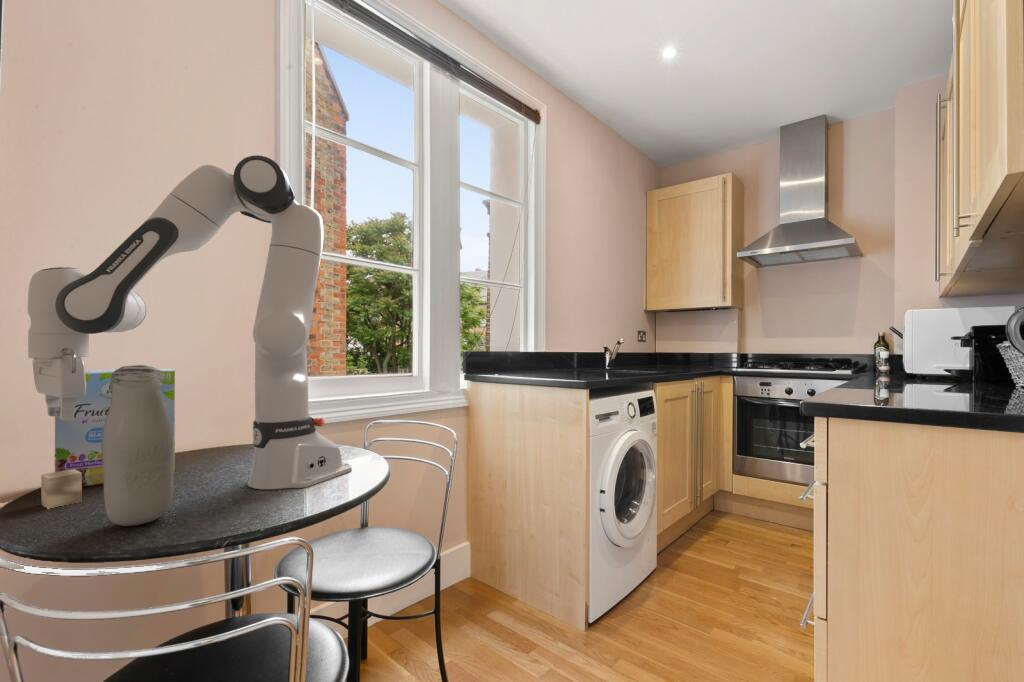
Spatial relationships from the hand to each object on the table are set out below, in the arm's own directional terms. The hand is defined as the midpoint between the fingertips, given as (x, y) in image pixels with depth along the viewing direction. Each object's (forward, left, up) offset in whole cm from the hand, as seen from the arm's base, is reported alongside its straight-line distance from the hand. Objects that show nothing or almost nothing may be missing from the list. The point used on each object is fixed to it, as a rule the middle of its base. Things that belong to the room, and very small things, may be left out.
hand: (60, 417), depth 95 cm
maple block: (0, 0, -17) cm, 17 cm away
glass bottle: (-5, +26, -17) cm, 32 cm away
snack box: (-13, -12, -17) cm, 25 cm away
